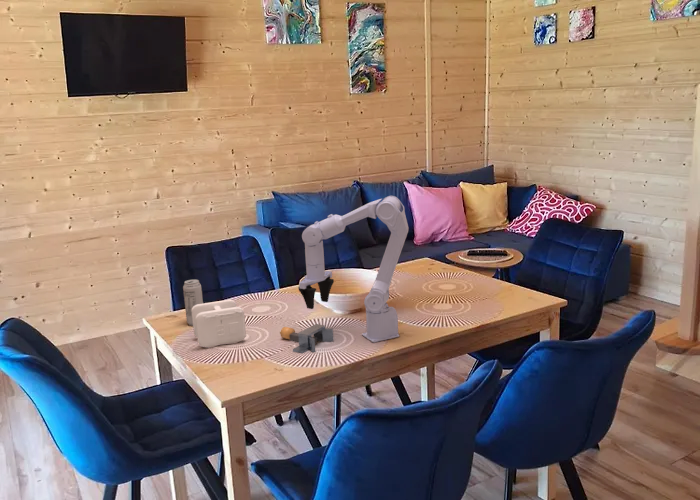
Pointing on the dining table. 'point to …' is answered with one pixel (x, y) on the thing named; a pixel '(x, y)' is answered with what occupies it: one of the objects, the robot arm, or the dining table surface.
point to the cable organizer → (218, 323)
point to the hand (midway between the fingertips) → (317, 304)
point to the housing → (309, 342)
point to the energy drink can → (192, 297)
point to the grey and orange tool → (291, 334)
